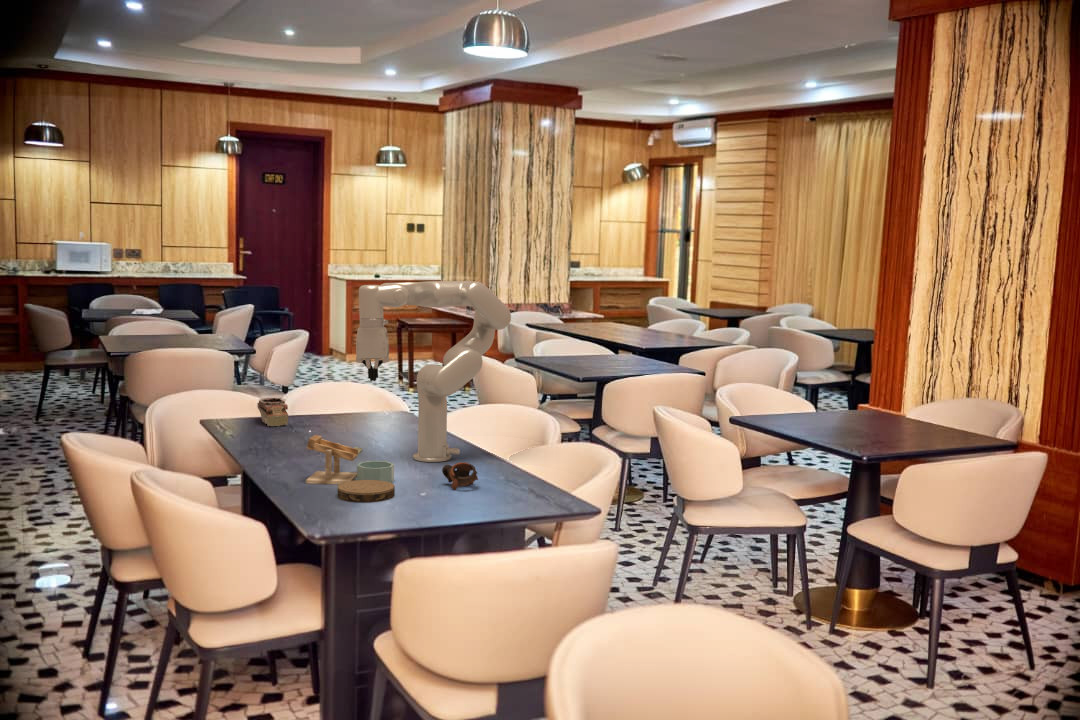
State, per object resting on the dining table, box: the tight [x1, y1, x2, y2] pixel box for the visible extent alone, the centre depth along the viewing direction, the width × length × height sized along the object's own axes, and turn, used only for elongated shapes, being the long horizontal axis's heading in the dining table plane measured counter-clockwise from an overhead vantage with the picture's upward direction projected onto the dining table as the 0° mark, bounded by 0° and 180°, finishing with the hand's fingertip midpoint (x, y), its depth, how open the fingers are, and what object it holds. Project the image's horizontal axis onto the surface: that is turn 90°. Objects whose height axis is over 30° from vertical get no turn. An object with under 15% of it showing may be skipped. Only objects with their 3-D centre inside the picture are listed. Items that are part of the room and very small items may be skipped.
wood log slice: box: [337, 479, 396, 504], centre depth 283 cm, size 16×16×3 cm
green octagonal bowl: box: [356, 460, 395, 484], centre depth 301 cm, size 10×10×5 cm
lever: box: [306, 434, 363, 462], centre depth 304 cm, size 14×16×3 cm
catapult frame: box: [305, 442, 357, 485], centre depth 301 cm, size 13×12×10 cm
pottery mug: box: [441, 461, 479, 491], centre depth 297 cm, size 12×10×8 cm
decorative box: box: [256, 397, 289, 427], centre depth 394 cm, size 13×20×10 cm, turn 21°
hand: (373, 380), depth 322 cm, fingers closed
